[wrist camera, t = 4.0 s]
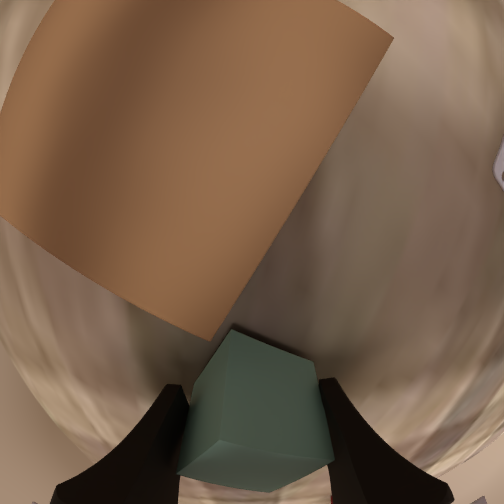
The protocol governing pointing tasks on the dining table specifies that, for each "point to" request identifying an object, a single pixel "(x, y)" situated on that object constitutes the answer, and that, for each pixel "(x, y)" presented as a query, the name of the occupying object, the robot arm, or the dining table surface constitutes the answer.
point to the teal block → (254, 419)
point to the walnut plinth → (176, 138)
